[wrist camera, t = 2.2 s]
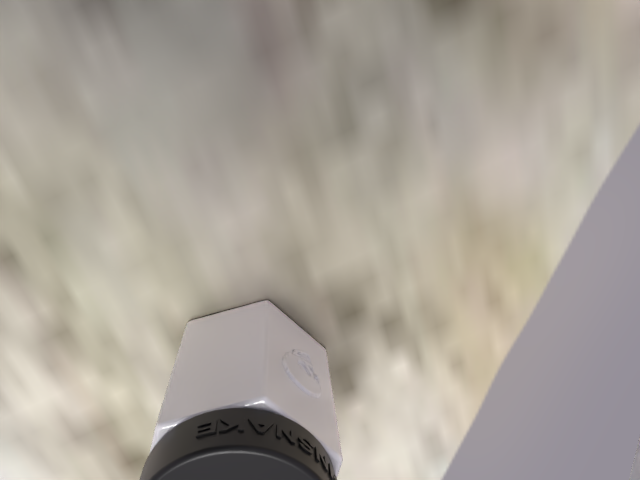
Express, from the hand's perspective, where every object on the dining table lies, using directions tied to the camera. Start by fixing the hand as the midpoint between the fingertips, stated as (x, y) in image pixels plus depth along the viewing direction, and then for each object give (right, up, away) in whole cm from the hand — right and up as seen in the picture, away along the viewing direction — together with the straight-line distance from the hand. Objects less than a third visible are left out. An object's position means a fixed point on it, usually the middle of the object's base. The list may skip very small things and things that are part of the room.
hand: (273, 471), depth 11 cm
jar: (-3, -3, +24) cm, 25 cm away
